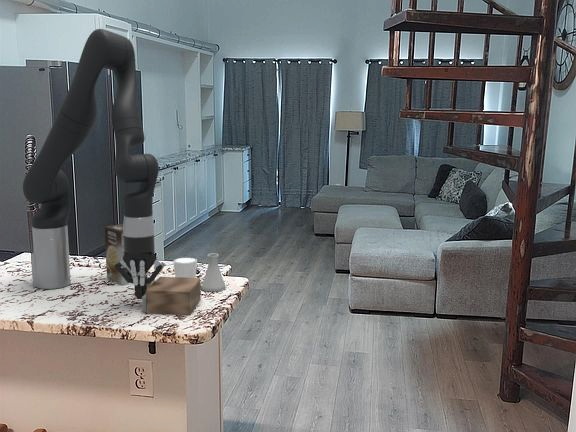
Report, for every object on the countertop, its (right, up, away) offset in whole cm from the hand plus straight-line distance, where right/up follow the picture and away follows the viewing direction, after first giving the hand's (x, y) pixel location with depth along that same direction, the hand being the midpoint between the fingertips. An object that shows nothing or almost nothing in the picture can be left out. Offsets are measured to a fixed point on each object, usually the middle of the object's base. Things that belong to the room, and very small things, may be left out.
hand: (140, 298), depth 149 cm
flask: (+17, 0, +15) cm, 23 cm away
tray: (+7, -2, 0) cm, 8 cm away
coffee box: (-11, +2, +22) cm, 25 cm away
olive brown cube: (-2, 0, +12) cm, 12 cm away
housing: (+9, -2, 0) cm, 9 cm away
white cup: (+8, +1, +20) cm, 21 cm away
